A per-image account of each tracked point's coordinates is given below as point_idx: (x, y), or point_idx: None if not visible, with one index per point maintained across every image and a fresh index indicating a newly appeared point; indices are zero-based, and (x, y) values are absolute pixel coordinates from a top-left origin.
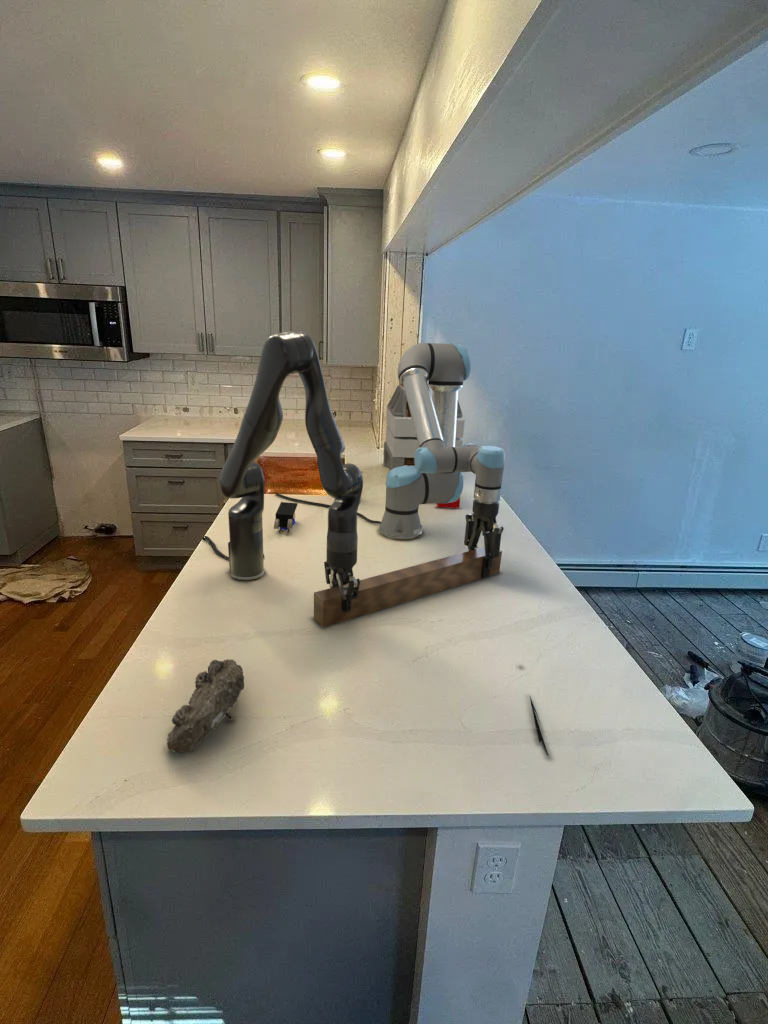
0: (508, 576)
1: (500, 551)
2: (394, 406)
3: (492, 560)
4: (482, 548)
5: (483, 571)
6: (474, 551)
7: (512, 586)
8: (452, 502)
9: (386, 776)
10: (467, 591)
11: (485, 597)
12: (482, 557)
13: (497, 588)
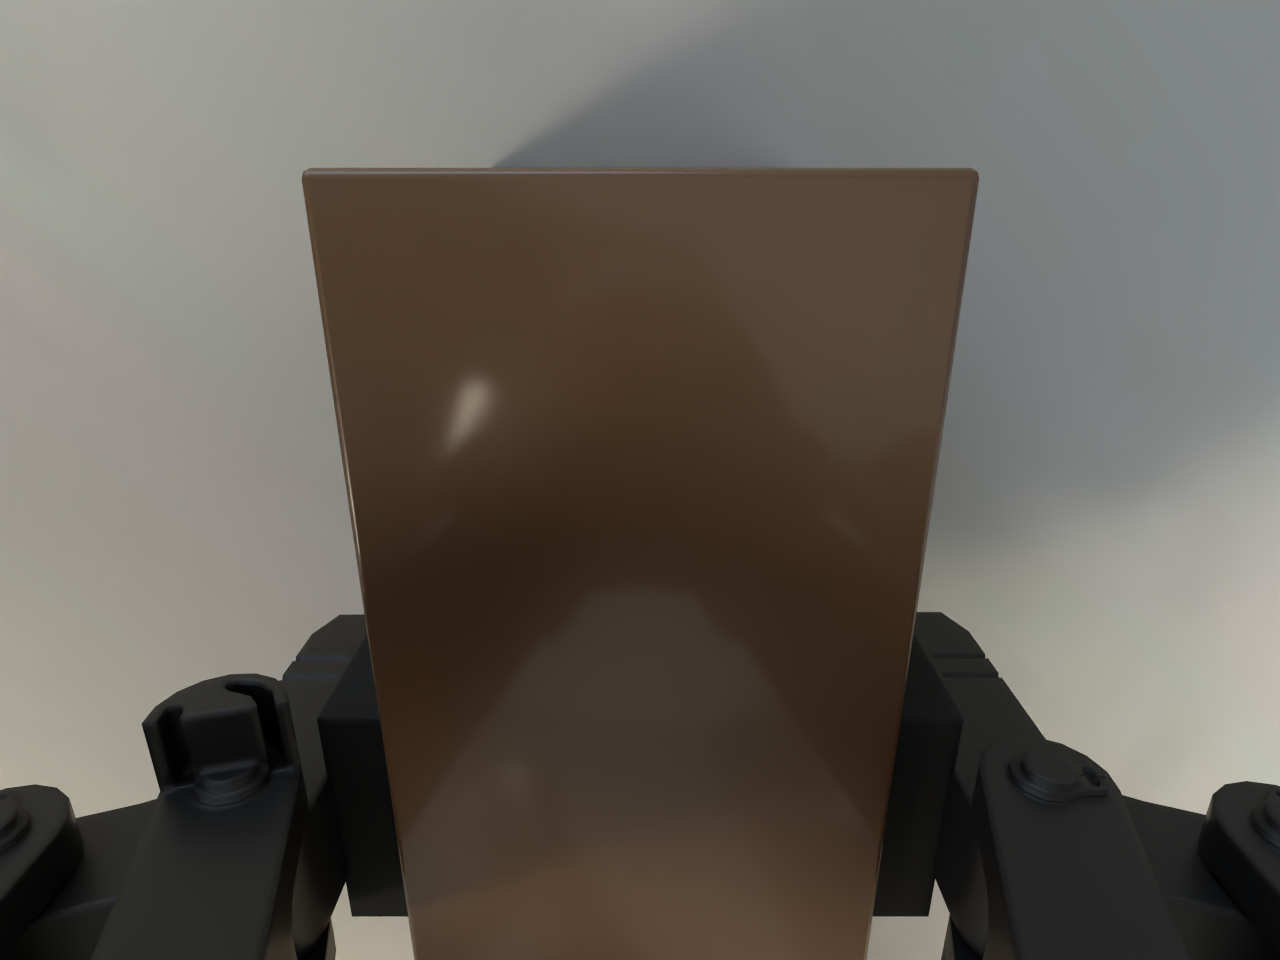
0: (992, 114)
1: (965, 264)
2: None
3: (1033, 726)
4: (428, 631)
5: None
6: (511, 938)
7: (1261, 359)
8: None
9: None
10: (912, 932)
11: None
12: (861, 939)
13: (1123, 602)
